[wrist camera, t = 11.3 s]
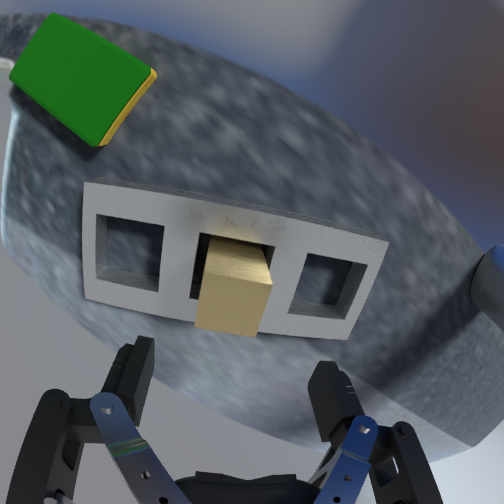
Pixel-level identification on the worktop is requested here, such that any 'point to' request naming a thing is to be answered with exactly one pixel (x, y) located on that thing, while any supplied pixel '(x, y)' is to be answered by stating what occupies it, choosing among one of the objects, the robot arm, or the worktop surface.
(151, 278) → the rail plate
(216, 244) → the brass peg
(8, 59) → the worktop surface
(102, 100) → the dish sponge
